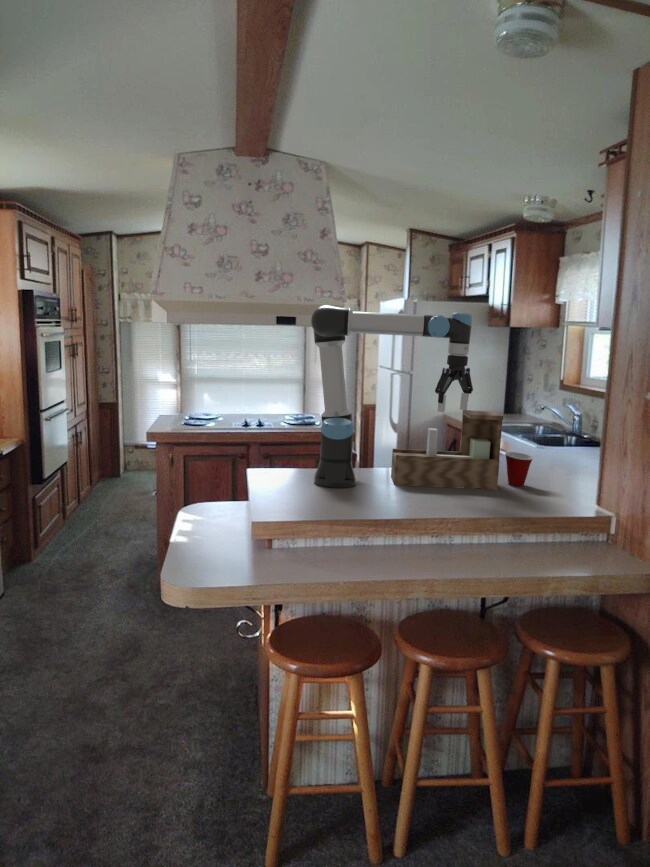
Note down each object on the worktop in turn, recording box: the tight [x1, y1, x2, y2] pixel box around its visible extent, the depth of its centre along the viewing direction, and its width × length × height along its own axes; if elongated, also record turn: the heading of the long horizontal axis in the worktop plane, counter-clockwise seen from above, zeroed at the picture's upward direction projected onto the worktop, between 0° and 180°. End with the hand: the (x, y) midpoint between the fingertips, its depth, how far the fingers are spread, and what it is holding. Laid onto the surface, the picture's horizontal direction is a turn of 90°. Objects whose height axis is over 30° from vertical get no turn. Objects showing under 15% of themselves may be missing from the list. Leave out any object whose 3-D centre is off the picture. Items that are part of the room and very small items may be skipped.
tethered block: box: [426, 427, 490, 459], centre depth 249 cm, size 22×7×10 cm, turn 89°
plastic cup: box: [504, 451, 535, 487], centre depth 253 cm, size 11×11×12 cm
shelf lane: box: [390, 409, 504, 490], centre depth 249 cm, size 38×14×28 cm, turn 89°
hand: (452, 411), depth 251 cm, fingers open, 13 cm apart
